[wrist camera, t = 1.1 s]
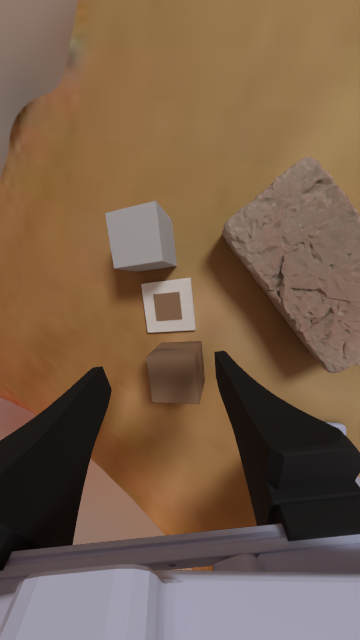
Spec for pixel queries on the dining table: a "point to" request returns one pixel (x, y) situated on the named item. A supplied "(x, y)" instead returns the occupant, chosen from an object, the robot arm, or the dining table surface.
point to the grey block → (141, 238)
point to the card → (169, 305)
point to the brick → (306, 259)
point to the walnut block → (176, 372)
